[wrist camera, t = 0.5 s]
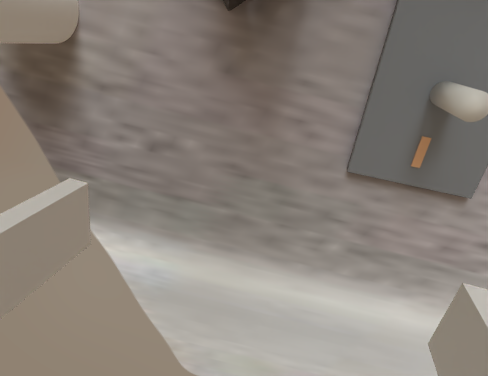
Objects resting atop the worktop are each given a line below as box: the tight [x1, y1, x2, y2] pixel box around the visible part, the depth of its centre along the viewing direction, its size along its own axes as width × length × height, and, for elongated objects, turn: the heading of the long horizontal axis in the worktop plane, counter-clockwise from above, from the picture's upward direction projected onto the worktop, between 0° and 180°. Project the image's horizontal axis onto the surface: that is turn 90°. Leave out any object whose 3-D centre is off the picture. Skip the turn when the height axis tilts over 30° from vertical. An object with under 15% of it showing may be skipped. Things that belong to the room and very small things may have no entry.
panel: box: [347, 0, 488, 199], centre depth 27 cm, size 18×12×8 cm, turn 171°
